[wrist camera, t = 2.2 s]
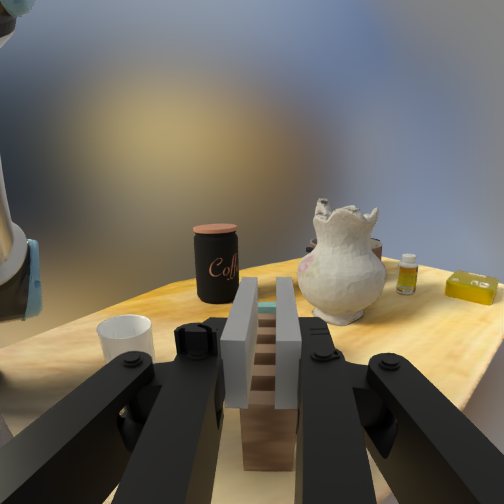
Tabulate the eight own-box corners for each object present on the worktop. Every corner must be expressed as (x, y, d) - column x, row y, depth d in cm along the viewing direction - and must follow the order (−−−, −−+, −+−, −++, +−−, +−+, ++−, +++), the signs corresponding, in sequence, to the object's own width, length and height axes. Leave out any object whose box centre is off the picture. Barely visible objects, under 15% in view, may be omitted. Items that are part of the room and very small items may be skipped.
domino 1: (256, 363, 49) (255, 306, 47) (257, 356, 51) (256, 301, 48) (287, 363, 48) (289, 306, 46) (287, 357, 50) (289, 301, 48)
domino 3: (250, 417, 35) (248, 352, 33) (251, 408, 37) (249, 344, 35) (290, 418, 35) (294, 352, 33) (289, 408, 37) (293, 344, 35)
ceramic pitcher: (275, 309, 74) (268, 203, 67) (335, 287, 83) (333, 194, 76) (339, 345, 55) (339, 210, 49) (399, 312, 64) (405, 200, 58)
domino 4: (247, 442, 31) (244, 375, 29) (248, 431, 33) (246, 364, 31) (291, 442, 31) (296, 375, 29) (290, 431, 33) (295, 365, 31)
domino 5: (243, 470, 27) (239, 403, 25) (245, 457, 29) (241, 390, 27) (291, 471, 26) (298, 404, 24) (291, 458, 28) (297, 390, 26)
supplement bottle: (416, 295, 74) (421, 258, 72) (397, 295, 76) (401, 257, 73) (412, 289, 79) (416, 253, 77) (394, 288, 81) (397, 252, 79)
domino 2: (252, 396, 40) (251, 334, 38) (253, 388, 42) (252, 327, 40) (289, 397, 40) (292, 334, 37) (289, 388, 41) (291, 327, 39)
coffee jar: (211, 308, 72) (206, 231, 68) (190, 296, 80) (185, 226, 76) (247, 298, 78) (246, 226, 74) (224, 287, 87) (221, 222, 83)
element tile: (496, 292, 71) (499, 276, 70) (490, 307, 62) (494, 289, 61) (455, 283, 82) (457, 268, 81) (442, 296, 73) (445, 279, 72)
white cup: (141, 365, 47) (131, 310, 45) (172, 384, 43) (162, 324, 40) (102, 383, 41) (87, 325, 39) (130, 407, 36) (114, 344, 34)
